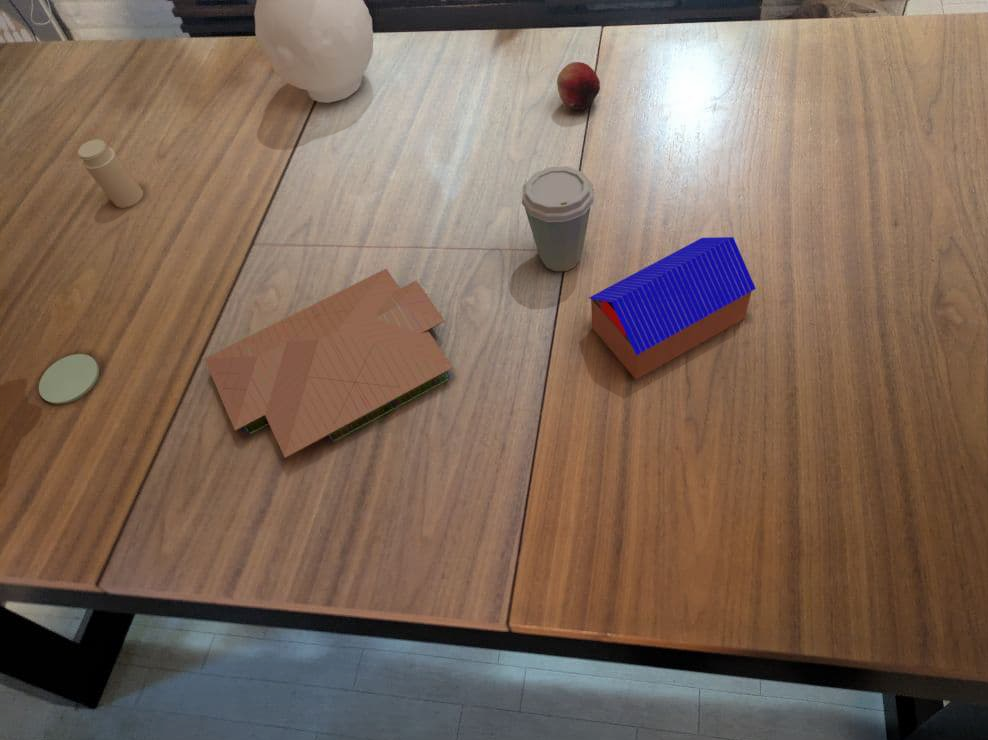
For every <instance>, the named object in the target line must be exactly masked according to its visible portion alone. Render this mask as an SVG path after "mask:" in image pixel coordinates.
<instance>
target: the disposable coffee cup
mask: <svg viewBox="0 0 988 740" xmlns="http://www.w3.org/2000/svg"><path fill="white" fill-rule="evenodd" d="M522 187H523V188H522V197H521V205H522V206H523V207H524V210H525V213H526V216H527V220H528V224H529V226H530V230H531V235H532V237H533V240H534V244H535V246H536V250H537V253H538V256H539V259H540V260H541V262H542V263H543V265H544V266H545V267H546V268H547V269H549V270H552V271H553V272H567V271H569V270H572V269H574V268H575V267H576V266H577V265H578V263H579V262H580V261H581V259H582V256H583V251H584V246H585V240H586V234H587V229H588V224H589V218H590V212H591V209H592V208H591V207H592V205H593V204H594V203H595V189H594V184H593V183H592V182H591V180H590V179H589V178H588V176H586V174H585V173H584V172H583V171H581V170H578V169H575V168H572V167H568V166H551V167H547V168H545V169H542V170H540V171H537V172H535V173H534V174H532V175H531V177H530V178H529V179H528V180H527V181H526V182H525V183H524V184H523V185H522Z"/></svg>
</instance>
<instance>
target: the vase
mask: <svg viewBox="0 0 988 740" xmlns="http://www.w3.org/2000/svg"><path fill="white" fill-rule="evenodd" d="M253 11H254V13H253V15H254V26H255V28H254V33H255V37H256V40H257V42H258V44H259V48H260V50H261V51H262V53H263V55H265V58H266V59H267V61H268V62H269V64H270V66H271V68H272V70H273V71H274V73H275V74H276V75H277V76H278V77H279V78H280V79H282V80H283V81H284V82H286V83H287V84H289V85H291V86H294V87H295V88H298V89H300V90H305V91H306V93H307V94H308V96H309V98H310V99H311V100H313V101H315V102H318V103H326V104H330V103H334V102H338V101H342V100H346V99H347V98H349V97H350V96H351V95H353V94H354V93H355V92H357V91H358V89H360V87H361V84H362V81H363V75H364V74H365V72H366V71H367V69H368V66H369V64H370V61H371V59H372V56H373V54H374V31H373V18H372V16H371V14H370V10H369V8H368V6H367V5H366V3H365V1H364V0H256V3H255V8H254V10H253Z"/></svg>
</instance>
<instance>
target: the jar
mask: <svg viewBox="0 0 988 740" xmlns="http://www.w3.org/2000/svg"><path fill="white" fill-rule="evenodd" d="M77 154H78V156H79V158H80V159H81V161H82V165H83V167H84V168H85V170H86V171H87V172H88V173H89V174H90V176H91V177H92V178H93V179H94V181H95V182H96V183H97V185H98V186H99V187H100V189H101V190H102V191H103V192H104V194H105V195H106V196H107V197H108V198H109V200H110V201H111V202H112V203H113V205H114V206H115V207H117V208H121V209H125V208H131V207H133V206H134V205H136V204H138V203H139V202H140V201H141V200H142V199H143V197H144V190H143V188H142V187H141V185H140V184H139V182H137V180H136V179H135V177H134V175H132V173H131V172H130V170H129V169H128V167H127V166H126V165H125V163H124V162H123V160H122V159H121V157H119V155H118V154H117V152H116V151H115V150H114V149H113V148H112V147H109V146H108V145H107V144H106V142H105V141H104V140H102V139H96V138H95V139H92V140H91V139H90V140H89V141H88V140H87V141H86V142H85V143H83V144H82V145H80V147H79V148H78V149H77Z"/></svg>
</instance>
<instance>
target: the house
mask: <svg viewBox="0 0 988 740" xmlns="http://www.w3.org/2000/svg"><path fill="white" fill-rule="evenodd" d="M755 290H756V286H755V284H754V282H753V279H752V277H751V275H750V272H749V270H748V268H747V265H746V263H745V261H744V259H743V256H742V254H741V251H740V250H739V246H738V245H737V242H736V240H735V238H734V236H722V237H718V236H717V237H716V236H715V237H714V236H713V237H701V238H699V239H697V240H695V241H693V242H691V243H689V244H687V245H685V246H684V247H682V248H680V249H678V250H676V251H674V252H672V253H671V254H669V255H666V256H665V257H663V258H661V259H659V260H657V261H655V262H653V263H651V264H650V265H647V266H645V267H644V268H642V269H640V270H638V271H637V272H634V273H632V274H631V275H628V276H627V277H625V278H622V279H621V280H619V281H617V282H615V283H614V284H612V285H610V286H608V287H606V288H605V289H602V290H600V291H598V292H597V293H595V294H593V295H591V296H589V297H588V299H590V307H591V328H592V329H593V330H594V332H596V334H597V335H598V336H599V338H600V339H601V340H602V341H603V343H604V344H605V345H606V346H607V347H608V349H610V351H611V352H612V353H613V354H614V356H615V357H616V358H617V359H618V360H619V362H620V363H621V364H622V365H623V366H624V368H625V369H626V370H627V372H629V374H630V375H631V376H632V378H633V379H634V380H635V381H636V380H639V379H640V378H642V377H643V376H645V375H647V374H649V373H650V372H651V373H652V371H654V370H656V369H658V368H659V367H661V366H663V365H665V364H667V363H668V362H670V361H672V360H674V359H676V358H678V357H679V356H681V355H682V354H685V353H686V352H688V351H689V350H691V349H693V348H695V347H697V346H699V345H700V344H702V343H704V342H705V341H707V340H709V339H711V338H713V337H714V336H717V335H718V334H719V333H722V332H723V331H725V330H727V329H729V328H731V327H733V326H734V325H736V324H737V323H739V322H741V321H742V320H744V319H745V318H746V316H747V311H748V307H749V304H750V299H751V296H752V292H753V291H755Z"/></svg>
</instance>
